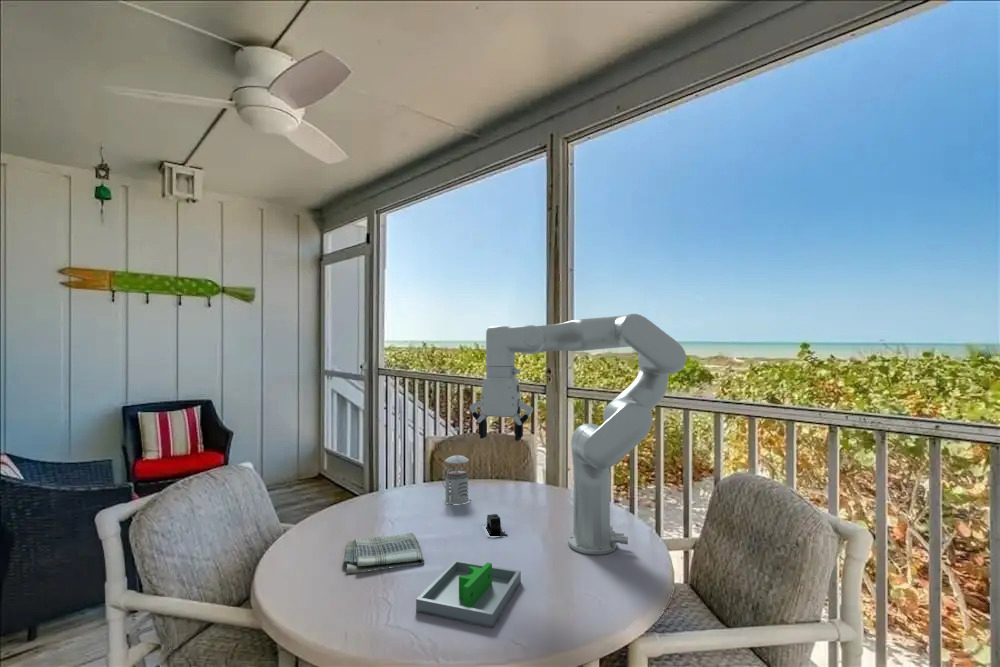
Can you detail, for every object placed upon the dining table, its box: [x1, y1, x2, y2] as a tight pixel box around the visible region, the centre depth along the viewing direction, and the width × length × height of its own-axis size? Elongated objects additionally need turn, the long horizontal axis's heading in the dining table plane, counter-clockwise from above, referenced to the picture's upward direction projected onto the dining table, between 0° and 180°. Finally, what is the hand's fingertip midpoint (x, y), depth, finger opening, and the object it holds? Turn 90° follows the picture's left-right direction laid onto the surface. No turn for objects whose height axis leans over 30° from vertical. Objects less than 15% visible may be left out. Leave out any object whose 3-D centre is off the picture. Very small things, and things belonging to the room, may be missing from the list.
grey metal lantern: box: [442, 426, 471, 504], centre depth 158 cm, size 10×12×25 cm
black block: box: [486, 513, 509, 537], centre depth 132 cm, size 12×7×5 cm, turn 16°
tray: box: [415, 559, 522, 629], centre depth 97 cm, size 16×18×2 cm
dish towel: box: [343, 532, 425, 575], centre depth 117 cm, size 19×18×3 cm
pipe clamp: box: [459, 562, 493, 608], centre depth 97 cm, size 11×4×5 cm, turn 157°
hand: (500, 438), depth 121 cm, fingers open, 9 cm apart
